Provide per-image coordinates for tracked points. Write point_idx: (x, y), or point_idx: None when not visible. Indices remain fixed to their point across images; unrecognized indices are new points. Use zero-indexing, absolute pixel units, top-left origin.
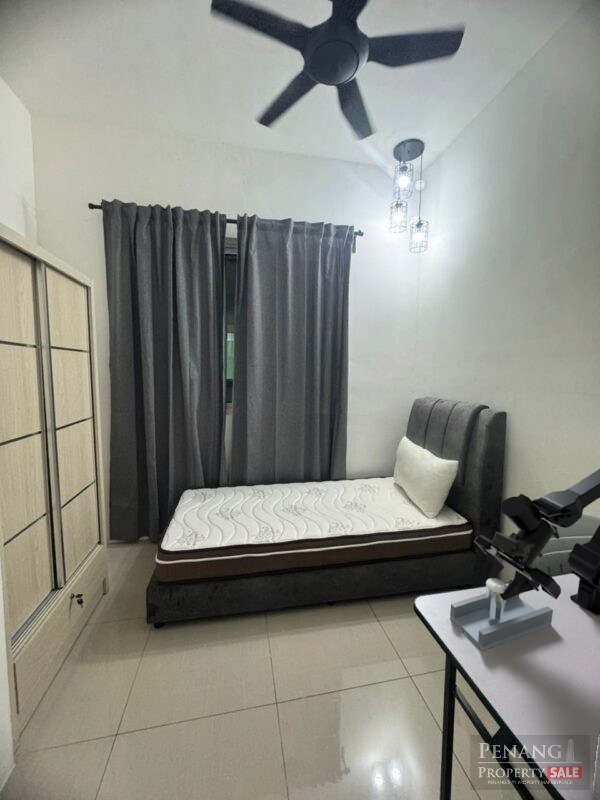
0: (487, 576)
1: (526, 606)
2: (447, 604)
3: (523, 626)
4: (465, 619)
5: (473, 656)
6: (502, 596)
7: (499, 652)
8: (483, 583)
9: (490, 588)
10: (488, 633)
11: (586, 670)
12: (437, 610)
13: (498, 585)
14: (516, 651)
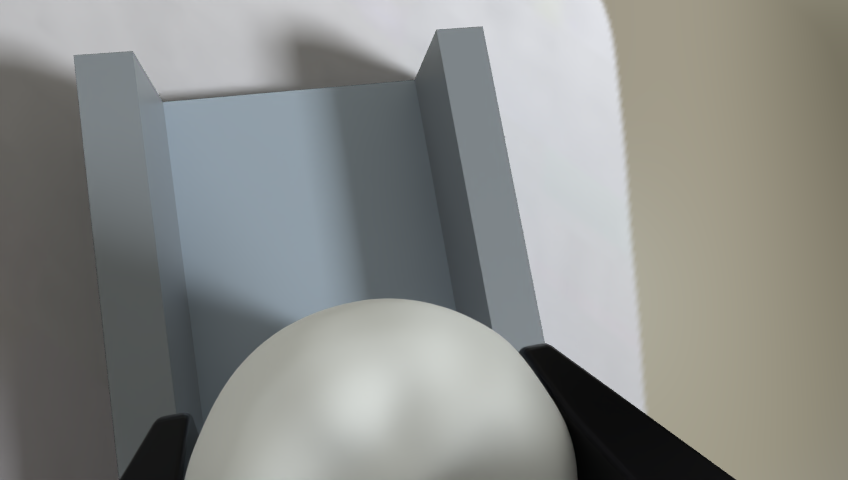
0: (610, 442)
1: None
2: (576, 164)
3: None
4: (390, 163)
5: (101, 24)
6: (166, 428)
7: (81, 243)
8: (539, 344)
9: (343, 304)
10: (82, 119)
11: None
12: (530, 50)
13: (293, 459)
14: (53, 392)
